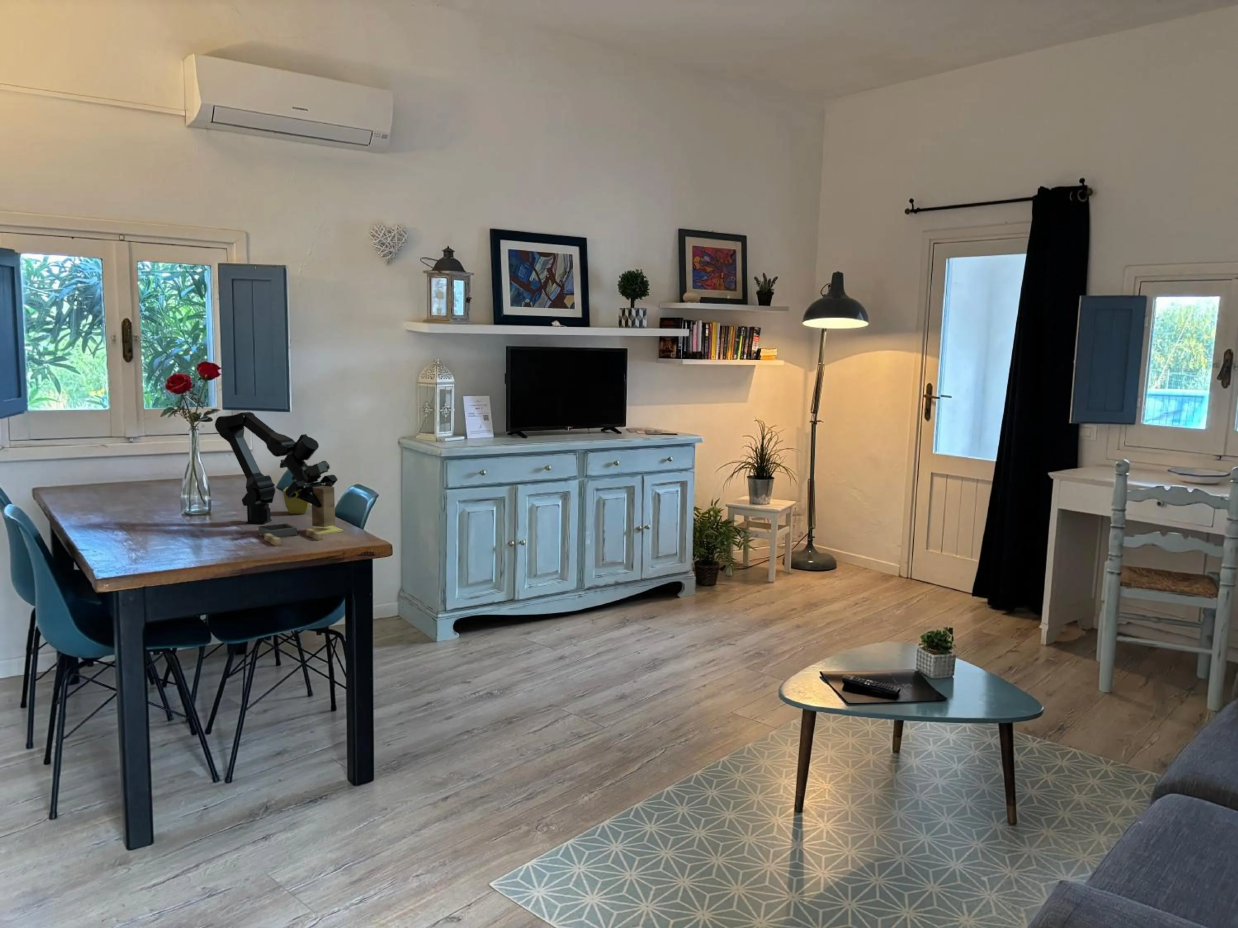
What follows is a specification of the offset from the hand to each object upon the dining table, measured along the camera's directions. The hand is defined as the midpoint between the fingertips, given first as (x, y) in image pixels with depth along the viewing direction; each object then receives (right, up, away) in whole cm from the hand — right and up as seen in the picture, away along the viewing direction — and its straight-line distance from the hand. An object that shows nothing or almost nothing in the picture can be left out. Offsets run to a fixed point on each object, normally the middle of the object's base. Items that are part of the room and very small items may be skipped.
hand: (326, 505), depth 291 cm
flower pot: (-20, -4, +31) cm, 37 cm away
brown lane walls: (-6, -10, -12) cm, 17 cm away
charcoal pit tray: (-14, -9, -5) cm, 17 cm away
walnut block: (-1, -6, +1) cm, 7 cm away
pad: (-1, -8, +2) cm, 9 cm away
